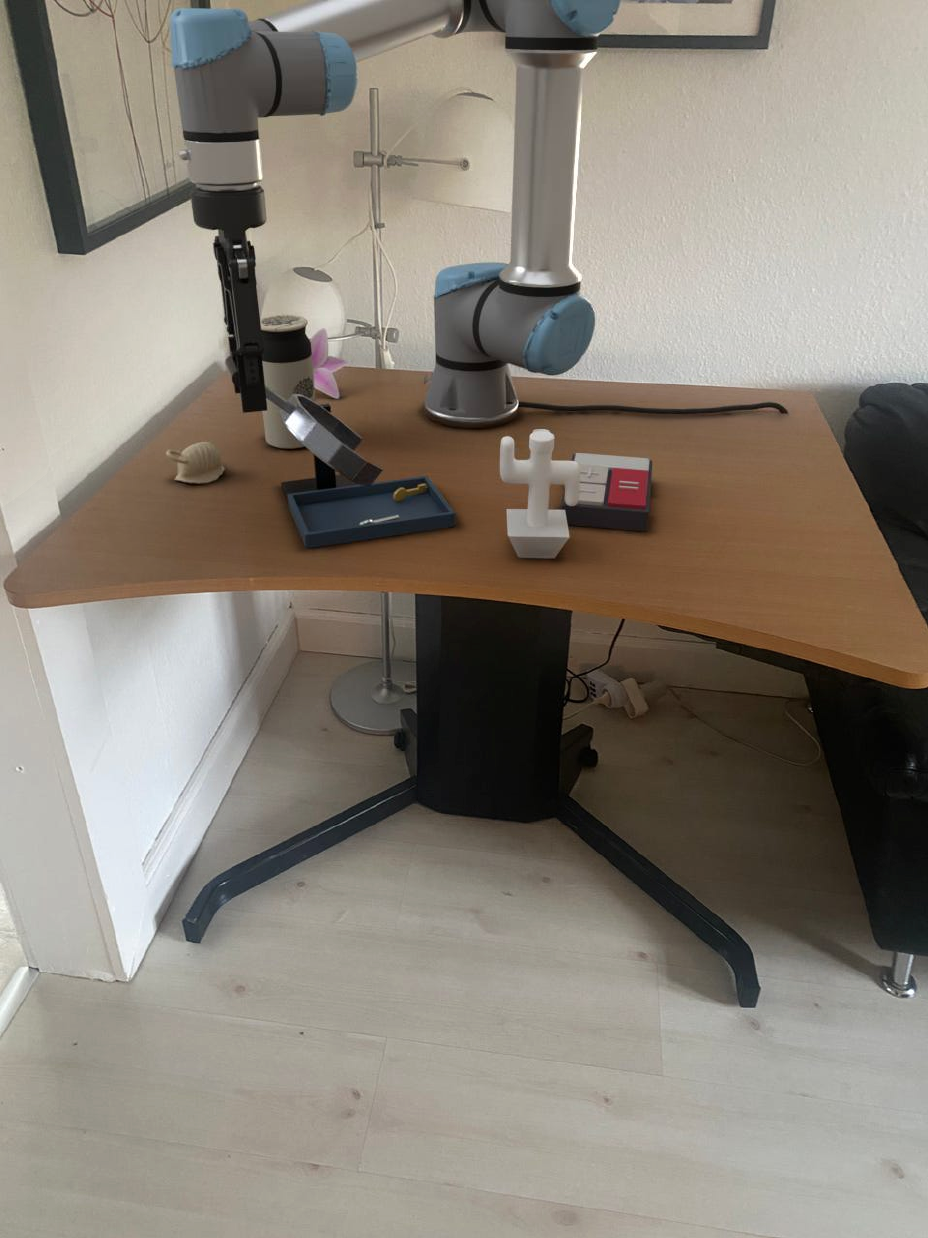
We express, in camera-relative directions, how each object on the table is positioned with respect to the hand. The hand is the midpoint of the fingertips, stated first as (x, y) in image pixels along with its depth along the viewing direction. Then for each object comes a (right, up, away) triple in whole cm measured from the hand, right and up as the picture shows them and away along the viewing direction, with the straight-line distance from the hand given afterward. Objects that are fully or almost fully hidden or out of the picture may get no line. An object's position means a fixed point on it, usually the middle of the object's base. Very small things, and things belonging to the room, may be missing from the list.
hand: (250, 400), depth 111 cm
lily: (-1, +13, +53) cm, 54 cm away
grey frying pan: (+5, -3, +4) cm, 7 cm away
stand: (+6, -8, +20) cm, 22 cm away
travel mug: (-1, +2, +35) cm, 35 cm away
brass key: (+18, -9, +16) cm, 26 cm away
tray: (+13, -12, +13) cm, 22 cm away
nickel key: (+14, -13, +9) cm, 21 cm away
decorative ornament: (-12, -6, +23) cm, 26 cm away
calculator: (+44, -10, +17) cm, 48 cm away
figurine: (+34, -17, +6) cm, 38 cm away
